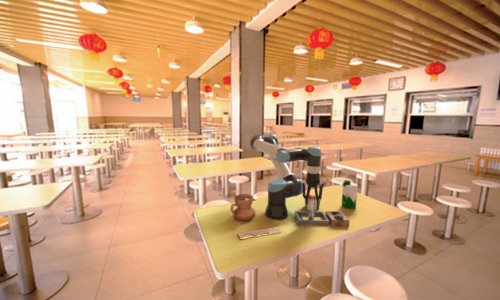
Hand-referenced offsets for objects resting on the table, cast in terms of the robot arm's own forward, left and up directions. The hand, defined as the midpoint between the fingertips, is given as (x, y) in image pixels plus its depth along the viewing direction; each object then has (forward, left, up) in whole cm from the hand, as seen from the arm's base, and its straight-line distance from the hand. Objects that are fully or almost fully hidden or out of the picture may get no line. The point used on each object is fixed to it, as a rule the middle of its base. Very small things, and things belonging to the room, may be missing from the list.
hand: (311, 208), depth 130 cm
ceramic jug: (-43, +3, -8) cm, 44 cm away
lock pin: (0, 0, -7) cm, 7 cm away
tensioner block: (+15, -2, -8) cm, 17 cm away
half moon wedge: (+4, +16, -8) cm, 18 cm away
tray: (0, 0, -8) cm, 8 cm away
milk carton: (+32, +21, -8) cm, 39 cm away
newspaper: (-32, -16, -9) cm, 37 cm away
